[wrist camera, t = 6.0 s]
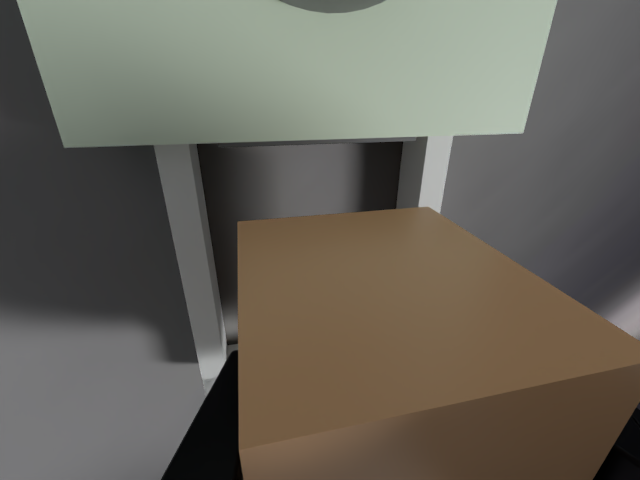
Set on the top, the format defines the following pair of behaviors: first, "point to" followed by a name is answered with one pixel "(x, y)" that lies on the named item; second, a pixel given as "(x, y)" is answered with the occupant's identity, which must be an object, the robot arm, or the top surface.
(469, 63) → the pale green framed piece
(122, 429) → the top surface
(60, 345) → the top surface
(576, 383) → the tan parcel box
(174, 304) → the top surface
